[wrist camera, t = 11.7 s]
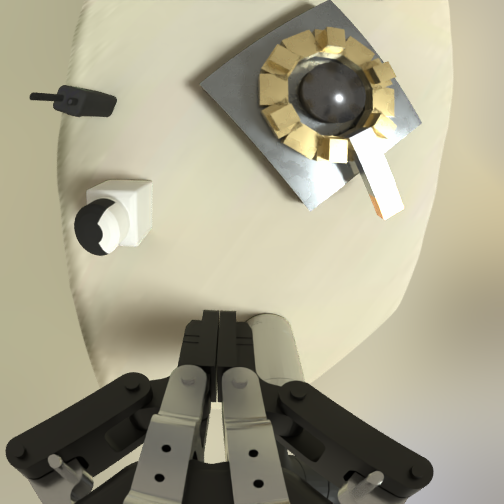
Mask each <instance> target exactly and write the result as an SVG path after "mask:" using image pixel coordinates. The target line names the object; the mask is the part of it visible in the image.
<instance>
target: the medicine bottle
mask: <svg viewBox="0 0 504 504" xmlns="http://www.w3.org/2000/svg"><path fill="white" fill-rule="evenodd" d="M152 188H153V183H152V181H144V180H107V181H105V182H103V183H101V184H99V185H96V186H94V187H92V188H90V189H88V190H87V191H86V200H87V205H86V206H84V207H83V208H82V209H80V211H79V212H78V213H77V215H76V218H75V223H74V229H75V234H76V237H77V239H78V241H79V243H80V244H81V246H82V247H83V248H84V249H85V250H87V251H88V252H90V253H91V254H94V255H99V256H103V255H107V254H109V253H111V252H112V251H113V250H114V249H115V248H116V247H117V246H118V245H120V246H131V247H137V246H138V245H139V244H140V243H141V241H142V240H143V239H144V237H145V236H146V235H147V234H148V233H149V231H150V230H151V229H152Z"/></svg>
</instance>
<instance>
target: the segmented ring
mask: <svg viewBox="0 0 504 504" xmlns="http://www.w3.org/2000/svg"><path fill="white" fill-rule="evenodd" d="M374 55H375V53H374V52H372V51H371V50H370V49H368V48H367V47H365V46H364V45H363V44H361V43H360V42H358V41H357V40H356V39H354V38H353V37H351V36H349V37H348V38H346V39H345V30H344V29H339V28H333V27H326V28H325V29H324V30H319V29H314V30H313V32H312V33H311V31H310V30H307V31H304V32H301V33H299V34H296V35H294V36H291V37H289V38H286V39H284V40H282V41H281V43H280V45H279V44H277V45H276V47H275V48H274V50H273V51H272V53H271V54H270V56H269V57H268V59H267V60H266V62H265V63H264V65H263V66H262V68H261V70H260V73H261V74H259V77H258V100H259V107H267V108H265V109H264V110H262V111H261V112H260V113H261V114H262V116H263V117H264V119H265V121H266V122H267V124H268V125H269V127H270V129H271V130H272V132H273V134H274V135H275V137H276V138H278V139H279V138H281V137H283V136H284V137H283V139H282V140H281V143H283V144H284V145H286V146H288V147H289V148H291V149H293V150H294V151H296V152H298V153H299V154H301V155H303V156H304V157H306V158H308V159H312V160H315V161H319V162H340V163H347V160H348V161H351V162H353V161H355V164H356V166H357V168H358V170H359V172H360V175H361V177H362V179H363V181H364V184H365V186H366V188H367V191H368V193H369V196H370V198H371V200H372V203H373V205H374V208H375V210H376V213H377V215H378V216H380V217H381V218H383V219H384V220H385V219H387V218H388V217H390V216H392V215H393V214H395V213H397V212H398V211H400V210H402V209H403V205H402V202H401V199H400V196H399V193H398V190H397V188H396V185H395V182H394V179H393V177H392V174H391V172H390V169H389V167H388V164H387V162H386V159H385V157H384V154H383V152H382V150H381V147H380V144H381V143H382V141H383V139H390V137H391V136H392V134H393V132H394V130H395V129H396V127H397V125H395V124H394V123H393V121H391V120H390V119H389V118H388V117H394V89H391V88H387V86H389V85H392V84H393V83H392V81H391V79H392V78H394V77H396V75H395V73H394V71H393V69H392V68H391V66H390V64H389V62H385V63H381V61H380V59H379V58H377V59H374V60H372V58H373V56H374ZM314 56H315V57H324V58H332V59H337V60H338V61H340V62H341V63H343V64H344V65H346V66H347V67H349V68H350V69H352V70H353V71H354V72H355V73H356V74H357V75H358V76H359V78H360V79H361V81H362V83H363V85H364V88H365V92H366V101H365V111H364V113H363V115H362V116H361V118H360V120H359V121H358V123H357V125H356V126H355V128H353V129H351V130H349V131H347V132H345V133H343V134H341V135H339V136H327V135H320V134H319V133H317V132H316V131H314V130H312V129H311V128H309V127H308V126H306V125H304V124H303V123H301V122H300V120H301V119H300V118H299V116H298V114H297V113H296V111H295V109H294V108H293V106H292V104H290V103H289V102H288V77H289V76H290V74H291V73H292V71H293V70H294V68H295V67H296V65H297V64H298V63H300V62H303V61H305V60H307V59H310V58H312V57H314ZM371 60H372V61H371Z"/></svg>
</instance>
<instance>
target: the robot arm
mask: <svg viewBox="0 0 504 504" xmlns="http://www.w3.org/2000/svg"><path fill="white" fill-rule="evenodd" d="M217 391H218V402H222V423H223V434H224V446H225V459H226V462H221V463H215V464H208V463H204V450H205V443H206V436H207V429H208V423H209V414H210V410H211V402H216V396H217ZM143 443H144V444H143ZM141 444H143V447H142V451H141V454H140V458H139V461H137V462H135V463H132V464H130V465H128V466H126V467H125V468H124V469H122V470H121V471H120V472H118V473H117V474H115V475H114V476H113V477H112V478H110V479H109V480H107V481H106V482H105V483H103V484H102V485H100V486H99V487H97V488H96V489H95V490H93V491H92V492H91V490H92V488H93V477H94V476H96V475H97V474H99V473H100V472H102V471H104V470H105V469H107V468H108V467H109V466H111V465H113V464H114V463H116V462H117V461H119V460H120V459H122V458H123V457H124V456H126V455H127V454H129V453H130V452H132V451H133V450H134V449H136V448H137V447H138V446H140V445H141ZM287 449H288V450H289V451H290V452H291V453H293V454H294V455H295V456H294V455H288V452H287ZM6 457H7V459H8V461H9V463H10V464H11V465H12V466H13V467H15V468H16V469H17V470H18V471H19V472H21V473H22V474H23V476H25V477H26V478H27V479H28V480H29V482H30V484H31V485H32V487H33V489H34V490H35V492H36V494H37V495H38V497H39V499H40V500H41V502H42V503H43V504H404V503H405V502H406V500H407V499H408V497H410V496H412V495H413V494H415V493H416V492H418V491H419V490H421V489H422V488H424V487H425V486H426V485H428V484H429V483H430V481H431V480H432V477H433V467H432V465H431V463H430V462H429V461H428V460H427V459H426V458H424V457H422V456H420V455H418V454H417V453H415V452H413V451H412V450H410V449H408V448H406V447H405V446H403V445H401V444H400V443H398V442H396V441H394V440H393V439H391V438H389V437H388V436H386V435H384V434H383V433H381V432H380V431H378V430H377V429H375V428H373V427H372V426H370V425H368V424H367V423H365V422H364V421H362V420H361V419H359V418H358V417H356V416H355V415H353V414H352V413H350V412H349V411H347V410H346V409H344V408H343V407H341V406H340V405H338V404H337V403H335V402H334V401H332V400H331V399H329V398H328V397H327V396H325V395H324V394H322V393H321V392H319V391H318V390H317V389H315V388H314V387H312V386H311V385H310V384H308V383H306V382H305V381H304V375H303V371H302V367H301V363H300V359H299V355H298V351H297V347H296V343H295V339H294V336H293V332H292V328H291V325H290V324H289V322H288V321H287V320H286V319H284V318H283V317H281V316H278V315H274V314H262V315H258V316H255V317H253V318H251V319H249V320H248V321H247V322H236V311H220V324H219V311H216V310H204V311H203V316H202V321H200V320H192V321H191V322H190V323H189V324H188V325H187V326H186V329H185V333H184V338H183V343H182V347H181V352H180V357H179V362H178V367H177V368H176V369H175V370H173V372H172V373H171V375H170V376H168V377H166V378H163V379H158V380H151V381H149V379H148V378H147V377H146V376H145V375H143V374H140V373H136V372H132V373H127V374H124V375H122V376H121V377H119V378H117V379H116V380H114V381H112V382H111V383H109V384H107V385H106V386H104V387H102V388H101V389H99V390H97V391H96V392H94V393H92V394H91V395H89V396H87V397H86V398H84V399H83V400H80V401H79V402H77V403H75V404H74V405H72V406H70V407H68V408H67V409H65V410H63V411H62V412H60V413H58V414H56V415H54V416H53V417H51V418H49V419H48V420H45V421H44V422H42V423H40V424H38V425H36V426H35V427H33V428H31V429H29V430H27V431H25V432H24V433H22V434H20V435H18V436H16V437H14V438H13V439H11V440H10V441H9V442H8V444H7V447H6ZM88 493H89V494H88Z"/></svg>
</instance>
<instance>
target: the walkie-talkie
mask: <svg viewBox="0 0 504 504" xmlns="http://www.w3.org/2000/svg"><path fill="white" fill-rule="evenodd" d="M30 100H43V101H54V103H53V108H54V109H55V110H57V111H60V112H63V113H66V114H68V115H72V116H76V117H81V116H97V117H109V116H110V115H111V114H112V112H113V109H114V107H115V104H116V102H117V99H116V97H114V96H112V95H108V94H105V93H102V92H98V91H94V90H89V89H84V88H78V87H73V86H67V85H63V86H61V87H60V88H59V90H58V93H57V94H45V93H31V95H30Z"/></svg>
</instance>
